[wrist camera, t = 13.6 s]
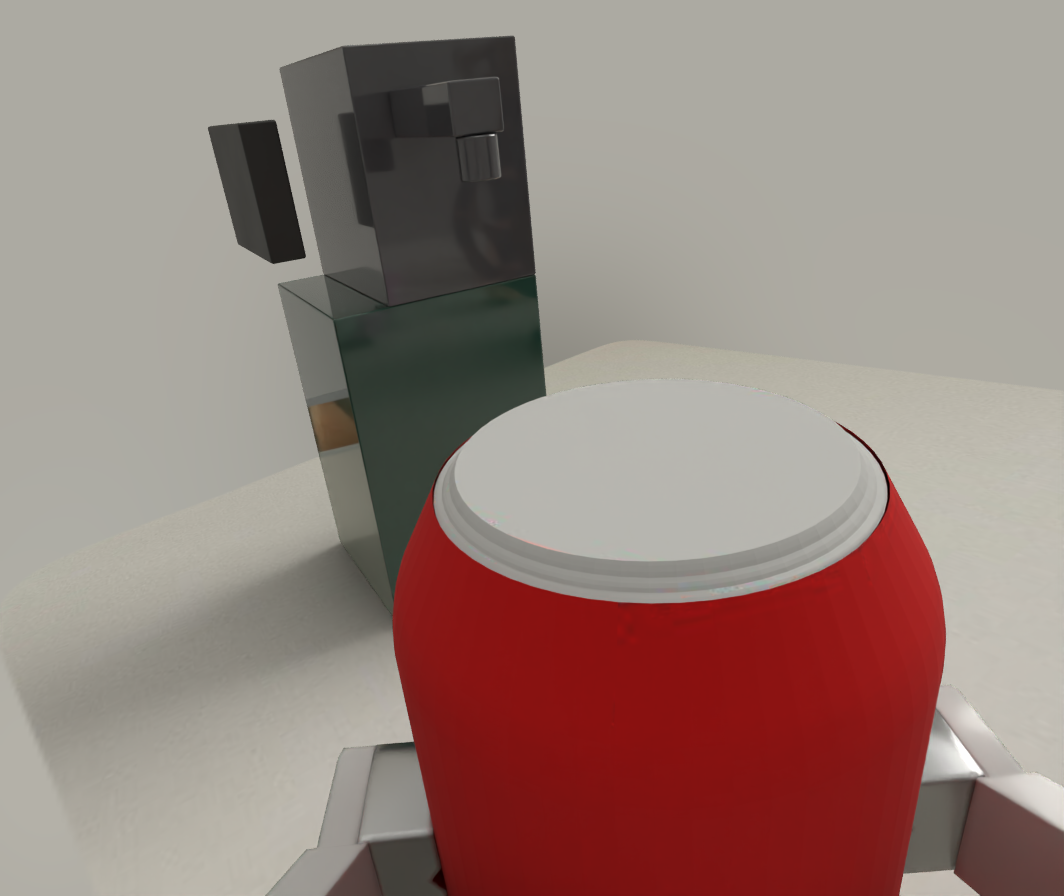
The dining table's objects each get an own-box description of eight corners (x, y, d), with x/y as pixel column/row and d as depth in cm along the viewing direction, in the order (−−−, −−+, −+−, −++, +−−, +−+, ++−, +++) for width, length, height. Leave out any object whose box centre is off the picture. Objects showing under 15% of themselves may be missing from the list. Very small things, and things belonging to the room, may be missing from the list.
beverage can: (421, 1133, 12) (231, 527, 7) (593, 837, 17) (553, 339, 12) (795, 1445, 9) (934, 766, 4) (879, 977, 14) (995, 382, 9)
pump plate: (271, 264, 25) (237, 123, 23) (237, 244, 30) (207, 126, 28) (306, 258, 25) (276, 119, 23) (267, 239, 30) (239, 123, 28)
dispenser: (447, 696, 26) (322, 28, 17) (339, 542, 36) (225, 71, 27) (625, 610, 30) (598, 15, 21) (481, 491, 40) (421, 57, 31)
